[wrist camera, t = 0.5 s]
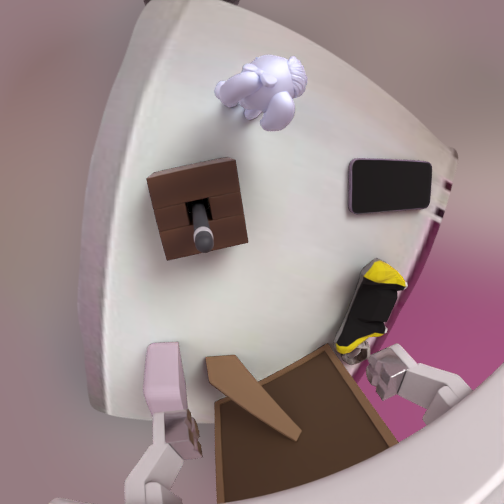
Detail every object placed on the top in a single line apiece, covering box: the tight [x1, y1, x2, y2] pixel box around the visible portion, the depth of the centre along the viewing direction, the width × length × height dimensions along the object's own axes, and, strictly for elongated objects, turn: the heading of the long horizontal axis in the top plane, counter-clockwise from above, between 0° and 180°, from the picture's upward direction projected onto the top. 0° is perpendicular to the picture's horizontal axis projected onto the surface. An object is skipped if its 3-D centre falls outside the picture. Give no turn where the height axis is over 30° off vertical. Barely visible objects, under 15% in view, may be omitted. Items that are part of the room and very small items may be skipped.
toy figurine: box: [214, 55, 307, 131], centre depth 21 cm, size 7×6×12 cm
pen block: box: [147, 157, 248, 261], centre depth 27 cm, size 8×8×5 cm
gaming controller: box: [334, 258, 408, 354], centre depth 38 cm, size 15×6×10 cm
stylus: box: [192, 199, 214, 253], centre depth 23 cm, size 1×1×14 cm
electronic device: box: [143, 342, 188, 417], centre depth 33 cm, size 10×5×10 cm, turn 178°
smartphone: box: [348, 158, 432, 214], centre depth 34 cm, size 7×1×15 cm
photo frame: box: [205, 343, 398, 504], centre depth 30 cm, size 15×22×25 cm
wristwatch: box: [341, 340, 370, 365], centre depth 43 cm, size 4×6×5 cm
